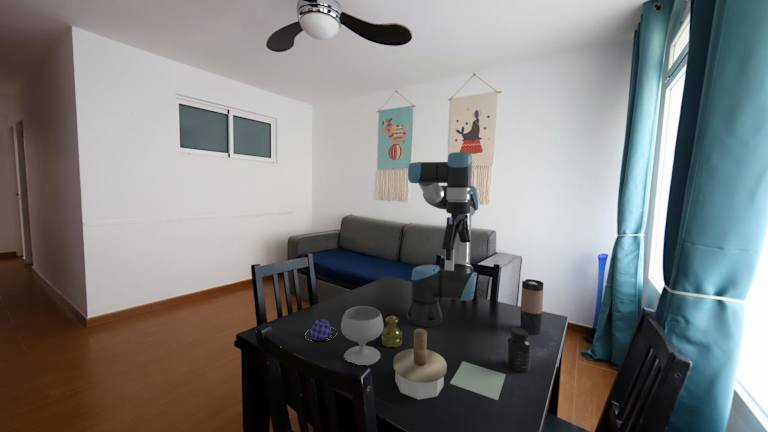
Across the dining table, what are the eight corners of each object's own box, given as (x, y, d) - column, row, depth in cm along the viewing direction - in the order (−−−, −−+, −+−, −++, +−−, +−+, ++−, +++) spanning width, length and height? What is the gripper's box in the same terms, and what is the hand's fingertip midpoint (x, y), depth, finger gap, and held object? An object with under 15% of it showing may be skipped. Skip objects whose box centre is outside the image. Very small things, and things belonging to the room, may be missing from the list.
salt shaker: (404, 340, 110) (404, 313, 109) (398, 350, 103) (399, 322, 102) (385, 336, 112) (385, 311, 111) (378, 346, 105) (379, 319, 104)
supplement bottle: (502, 361, 96) (503, 326, 95) (522, 361, 97) (523, 325, 96) (512, 374, 89) (514, 336, 88) (534, 373, 90) (536, 335, 89)
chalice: (391, 360, 96) (392, 315, 95) (352, 374, 89) (353, 325, 87) (369, 341, 108) (370, 301, 107) (334, 352, 100) (334, 309, 99)
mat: (449, 384, 84) (449, 383, 84) (462, 362, 95) (462, 361, 95) (497, 401, 78) (497, 400, 78) (505, 375, 89) (505, 374, 89)
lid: (383, 370, 81) (383, 335, 81) (407, 346, 94) (408, 316, 93) (434, 389, 74) (435, 351, 73) (453, 361, 86) (454, 328, 86)
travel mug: (543, 336, 114) (546, 285, 112) (522, 334, 115) (524, 284, 114) (537, 327, 121) (540, 279, 120) (517, 325, 123) (519, 278, 121)
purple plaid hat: (343, 334, 114) (343, 321, 114) (319, 346, 105) (319, 332, 104) (322, 325, 121) (322, 313, 121) (298, 336, 112) (298, 323, 111)
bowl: (388, 388, 82) (389, 369, 82) (409, 366, 93) (409, 349, 93) (431, 406, 76) (432, 385, 75) (447, 379, 86) (448, 361, 86)
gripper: (457, 203, 83) (454, 276, 85) (480, 200, 104) (477, 259, 106) (432, 202, 87) (430, 272, 89) (459, 199, 108) (457, 256, 110)
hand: (456, 265), depth 98 cm, fingers open, 13 cm apart
